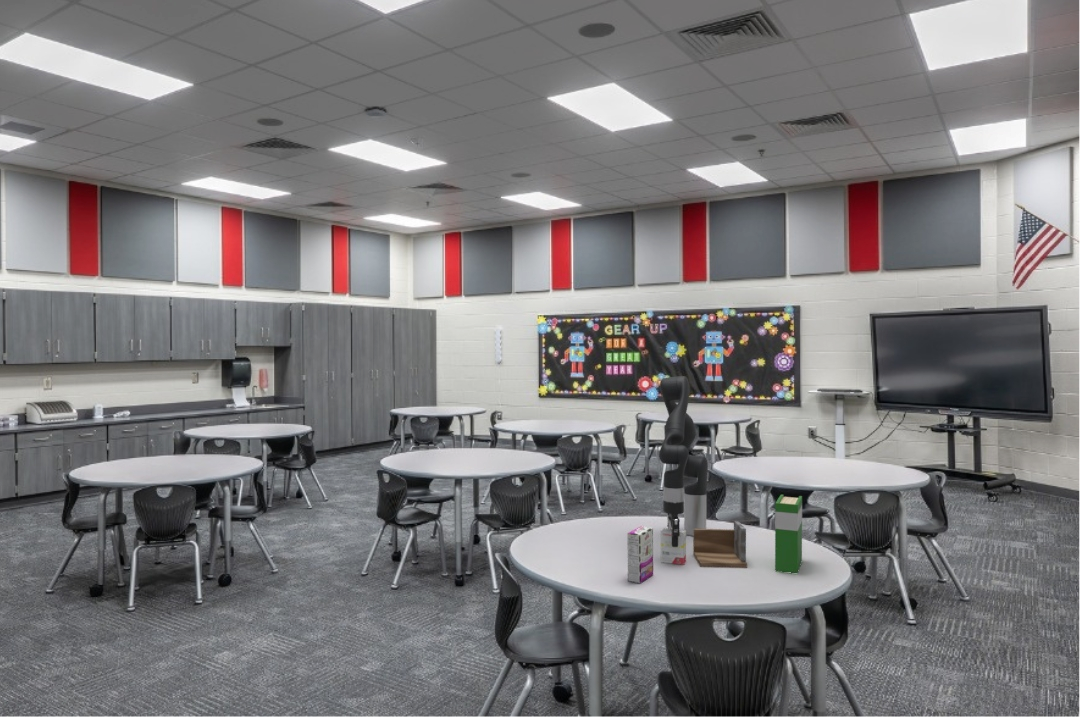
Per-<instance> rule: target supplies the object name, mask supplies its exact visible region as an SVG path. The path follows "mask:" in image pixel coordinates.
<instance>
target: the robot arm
mask: <svg viewBox="0 0 1080 717" xmlns="http://www.w3.org/2000/svg"><path fill="white" fill-rule="evenodd" d="M659 386H660V387H659V389H660V393H661V395H662V400H663V403H664V405H665V408H666V411H667V414H668V416H667V419H666V423H665V429H664V430H665V431H664V432H665V433H664V439H663V442H662V444H661V446H660V450H659V454H658V457H659V460H660V462H661V463H662V464H664V465H678V467H677V468H674V469H669V470H666V471H665V472H664V473H663V474H664V475H663V493H662V511H663V512H664V513H665V514H667V518H666V520H667V522H666V523H667V525H666V526H667V528H670V531H671V535H672V547H678V537H679V535H680V534H679V530H681V529H680V518H679V516H678V515H681V514H683V515H684V516H683V517H684V518H683V521H684V522H683V523H684V524H683V530H686V536H689V537H690V536H692V537H693V529H707V488H708V487H707V486H708V469H709V468H708V467H709V464H708V459H707V458H706V457H705V456H701V455H700V456H699V455H690V453H689V450H690V448H691V446H692V444H693V442H694V441H695V438H696V435H697V432H696V428H695V422H694V420H693V418H692V417H691V416H690V415H689V414H688V413H687V410H688V405H689V400H690V395H691V394H690V393H691V388H690V382H689V379H688V377H687V376H683V375H682V376H681V375H680V376H679V375H678V376H671V377H670V376H669V377H664V378H662V379H661V380H660V384H659ZM676 401H678V403H677V402H676ZM684 477H686V478H695V479H696V482H695V483H692V484H688V485H687V484H686V485H685V486H684V479H685V478H684ZM674 531H677V532H674Z"/></svg>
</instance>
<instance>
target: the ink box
mask: <svg viewBox="0 0 1080 717" xmlns="http://www.w3.org/2000/svg"><path fill="white" fill-rule="evenodd" d="M674 532H677V531H674ZM679 534H680V535H679V537H678V547H672V535H671V531H670V528H668V527H663V528H662V529H661V530H660V562H661V563H663V562H664V563H663V564H672V565H673V564H674V565H682V566H683V565H685V564H686V563H687V535H686V530H684V529H679Z"/></svg>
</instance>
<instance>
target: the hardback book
mask: <svg viewBox="0 0 1080 717" xmlns="http://www.w3.org/2000/svg"><path fill="white" fill-rule="evenodd" d="M774 504H775V505H774V507H775V511H774V512H775V513H774V515H775V517H774V518H775V519H774V521H775V523H774V524H775V525H774V528H775V529H774V537H775V538H774V540H775V541H774V542H775V543H774V551H775V552H774V553H775V554H774V556H775V557H774V561H775V562H774V571H775V570H776V571H775V572H777V571H782V572H781V573H784V572H791V573H790V574H792V573H798V574H799V571H800V568H801V565H802V562H801V561H803V496H802V495H799V496H798V497H791V496H784V494H780V495H779V497H778V498H777V500H776V501H775V503H774ZM800 564H801V565H800ZM799 567H800V568H799ZM798 570H799V571H798Z"/></svg>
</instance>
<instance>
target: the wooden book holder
mask: <svg viewBox="0 0 1080 717" xmlns="http://www.w3.org/2000/svg"><path fill="white" fill-rule="evenodd" d="M692 539H693V547H692V548H693V549H692V550H693V551H692V552H693V553H692V555H693V557H694V559H695V560H696V562H697V563H698V565H699V567H700V568H735V569H736V568H741V569H742V568H744V569H747V568H748V563H747V528H746V527H745V526H744V525H743V524H742V523H741V522H740V521H739V520H733V529H732V528H731V529H727V528H726V529H725V528H723V529H720V528H719V529H717V528H706V529H693V536H692Z"/></svg>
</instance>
